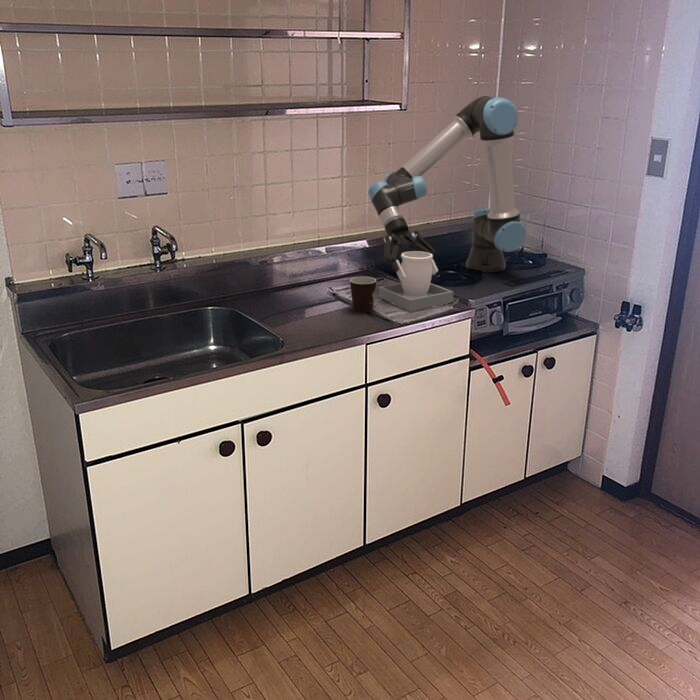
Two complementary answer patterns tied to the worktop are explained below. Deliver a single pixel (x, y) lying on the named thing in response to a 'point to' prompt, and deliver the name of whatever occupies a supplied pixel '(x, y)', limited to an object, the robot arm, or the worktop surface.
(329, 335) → the worktop surface
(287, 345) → the worktop surface
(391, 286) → the tray
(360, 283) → the coffee mug
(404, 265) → the jar
